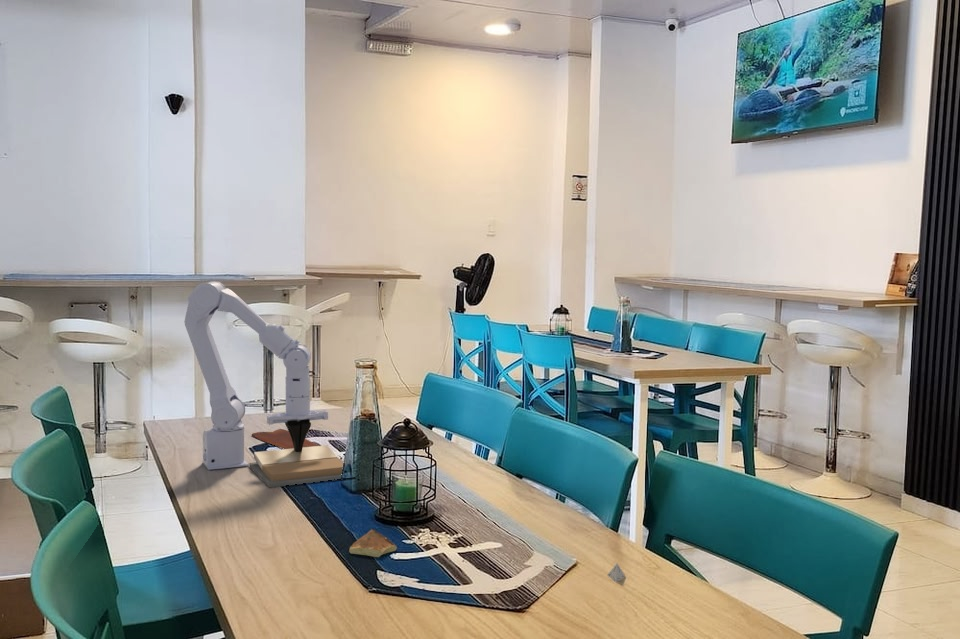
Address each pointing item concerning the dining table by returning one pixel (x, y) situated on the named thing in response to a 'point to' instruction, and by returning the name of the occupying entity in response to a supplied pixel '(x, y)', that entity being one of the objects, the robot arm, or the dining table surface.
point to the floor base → (290, 482)
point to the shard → (373, 545)
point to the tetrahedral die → (616, 573)
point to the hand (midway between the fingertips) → (298, 450)
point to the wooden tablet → (280, 439)
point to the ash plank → (293, 455)
